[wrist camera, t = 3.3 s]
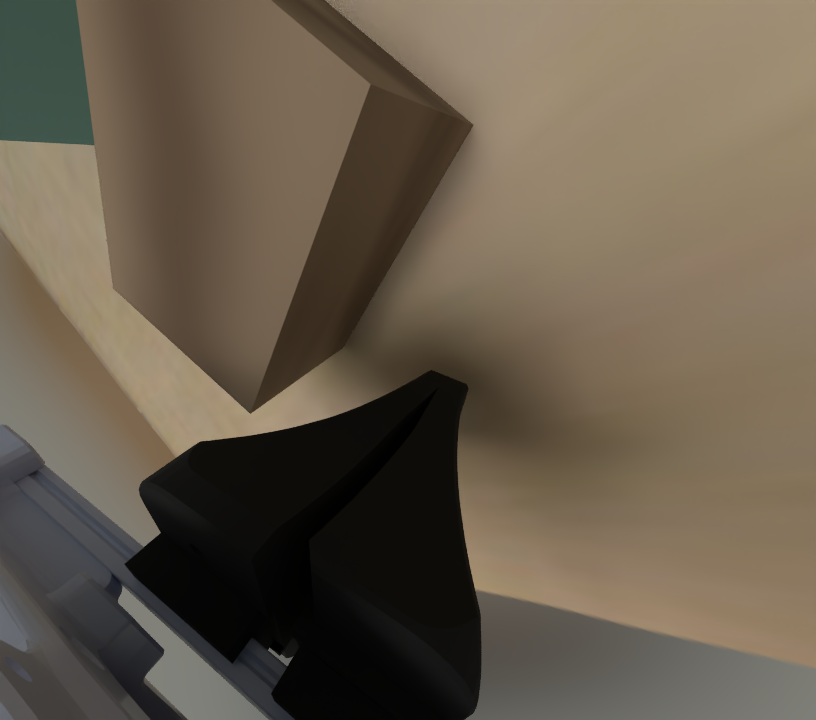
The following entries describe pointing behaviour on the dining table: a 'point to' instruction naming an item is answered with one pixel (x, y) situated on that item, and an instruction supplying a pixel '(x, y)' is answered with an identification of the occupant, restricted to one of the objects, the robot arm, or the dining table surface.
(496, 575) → the dining table surface
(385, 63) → the block
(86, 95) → the teal rectangular bar
